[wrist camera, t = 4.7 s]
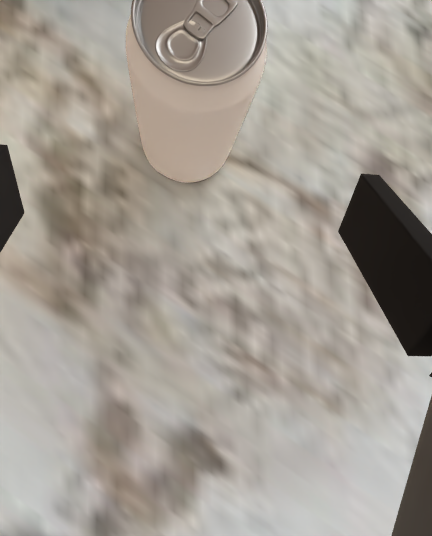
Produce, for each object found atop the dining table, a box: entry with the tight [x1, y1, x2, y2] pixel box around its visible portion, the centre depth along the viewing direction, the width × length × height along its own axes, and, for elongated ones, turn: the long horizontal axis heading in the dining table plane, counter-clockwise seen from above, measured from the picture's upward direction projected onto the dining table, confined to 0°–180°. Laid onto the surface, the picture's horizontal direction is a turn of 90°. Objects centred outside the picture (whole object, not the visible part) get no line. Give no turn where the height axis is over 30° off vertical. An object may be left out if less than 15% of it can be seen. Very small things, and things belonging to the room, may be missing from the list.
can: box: [126, 0, 267, 183], centre depth 21 cm, size 6×6×12 cm
